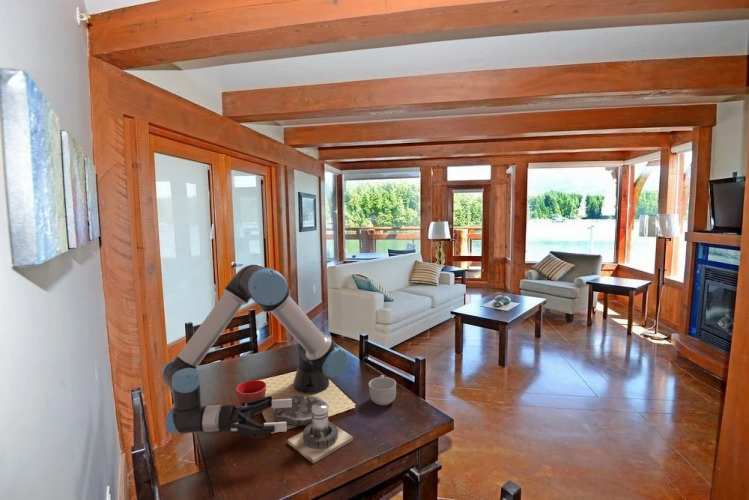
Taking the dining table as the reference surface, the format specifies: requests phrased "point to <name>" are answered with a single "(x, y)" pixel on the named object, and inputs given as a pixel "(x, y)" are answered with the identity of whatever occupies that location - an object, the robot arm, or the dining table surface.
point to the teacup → (382, 390)
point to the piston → (319, 420)
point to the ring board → (321, 452)
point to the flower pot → (251, 391)
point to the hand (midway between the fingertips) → (289, 414)
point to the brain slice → (297, 411)
